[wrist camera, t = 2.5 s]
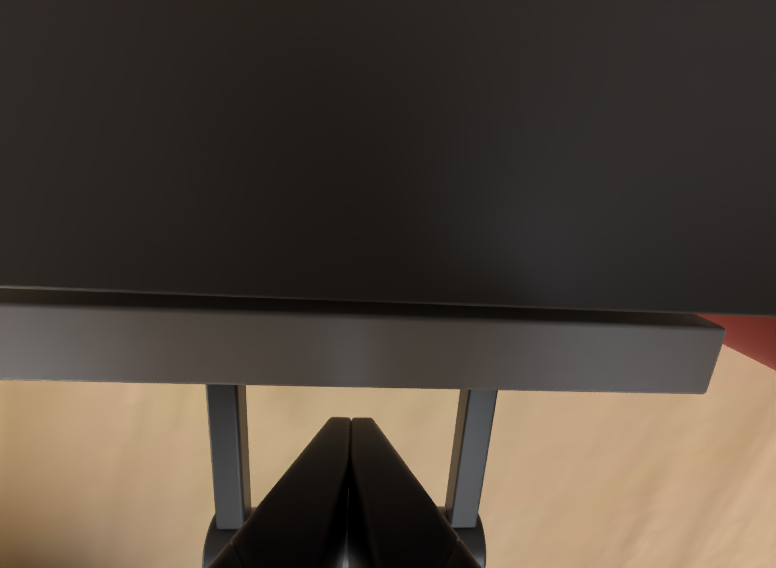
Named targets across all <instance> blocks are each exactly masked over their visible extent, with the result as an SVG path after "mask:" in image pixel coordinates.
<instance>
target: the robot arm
mask: <svg viewBox="0 0 776 568" xmlns="http://www.w3.org/2000/svg"><path fill="white" fill-rule="evenodd" d="M350 439H351V440H350ZM348 489H349V492H348ZM347 513H348V519H347ZM346 533H347V549H348V564H349V568H482V567H481V566H480V564H479V563H478V562H477V560H476V559H475V558H474V556H473V555H472V554H471V552H470V551H469V550H468V548H467V547H466V545H465V544H464V543H463V541H462V540H459V536H458V535H457V533H456V532H455V531H454V529H453V528H452V527H451V525H450V524H449V522H448V521H447V520H446V518H445V517H444V516H443V514H442V513H441V512H440V510H439V509H438V507H437V506H436V505H435V503H434V502H433V501H432V499H431V498H430V496H429V495H428V494H427V492H426V491H425V490H424V488H423V487H422V486H421V484H420V483H419V481H418V480H417V479H416V477H415V476H414V475H413V473H412V472H411V471H410V469H409V468H408V466H407V465H406V464H405V462H404V461H403V460H402V458H401V457H400V456H399V454H398V453H397V451H396V450H395V449H394V447H393V446H392V445H391V443H390V442H389V441H388V439H387V438H386V436H385V435H384V434H383V432H382V431H381V430H380V428H379V427H378V425H377V424H376V423H375V421H374V420H373V419H372V418H353V419H352V421H351V419H350V418H348V417H332V418H330V419H329V420H328V421H327V422H326V424H325V425H324V426H323V427H322V428H321V430H320V431H319V432H318V433H317V435H316V436H315V437H314V438H313V439H312V441H311V442H310V443H309V444H308V446H307V447H306V448H305V449H304V450H303V452H302V453H301V454H300V455H299V457H298V458H297V459H296V460H295V461H294V463H293V464H292V465H291V466H290V468H289V469H288V470H287V471H286V472H285V474H284V475H283V476H282V477H281V479H280V480H279V481H278V482H277V483H276V485H275V486H274V487H273V488H272V490H271V491H270V492H269V493H268V495H267V496H266V497H265V498H264V499H263V501H262V502H261V503H260V504H259V506H258V507H257V508H256V509H255V510H254V512H253V513H252V514H251V515H250V517H249V518H248V519H247V520H246V521H245V523H244V524H243V525H242V526H241V528H240V529H239V530H238V531H237V532H236V534H235V535H234V536H233V537H232V539H231V540H230V543H227V544H226V545H225V547H224V548H223V549H222V550H221V552H220V553H219V554H218V555H217V557H216V558H215V559H214V560H213V561H212V563H211V564H210V565H209V566H208V567H207V568H342V566H343V560H344V553H345V545H346Z"/></svg>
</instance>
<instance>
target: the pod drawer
mask: <svg viewBox="0 0 776 568" xmlns="http://www.w3.org/2000/svg"><path fill="white" fill-rule="evenodd" d="M725 334H726V329H725V328H724V327H722V326H720V325H718V324H716V323H714V322H711V321H709V320H707V319H705V318H703V317H700V316H698V315H696V314H679V313H652V312H625V311H598V310H572V309H545V308H518V307H492V306H465V305H438V304H411V303H385V302H358V301H331V300H304V299H278V298H251V297H224V296H198V295H171V294H144V293H117V292H91V291H64V290H37V289H10V288H0V380H24V381H74V382H124V383H173V384H205V385H206V398H207V411H208V424H209V436H210V449H211V462H212V474H213V487H214V500H215V515H214V516H213V519H212V521H211V523H210V526H209V529H208V532H207V536H206V540H205V545H204V550H203V558H202V568H207V567H208V566H209V565H210V564H211V563H212V561H213V560H214V559H215V558H216V557H217V555H218V554H219V553H220V552H221V550H222V549H223V548H224V547H225V545H226V544H227V543H230V540H231V539H232V537H233V536H234V535H235V534H236V532H237V531H238V530H239V529H240V528H241V526H242V525H243V524H244V523H245V521H246V520H247V519H248V518H249V517H250V515H251V514H252V513H253V512H254V510H255V509H256V508H257V507H251V492H250V471H249V449H248V427H247V405H246V385H273V386H323V387H372V388H422V389H460V396H459V404H458V411H457V419H456V427H455V434H454V442H453V449H452V457H451V465H450V472H449V480H448V488H447V495H446V503H445V507H438V509H439V510H440V512H441V513H442V514H443V516H444V517H445V518H446V520H447V521H448V522H449V524H450V525H451V527H452V528H453V529H454V531H455V532H456V533H457V535H458V536H459V540H462V541H463V543H464V544H465V545H466V547H467V548H468V550H469V551H470V552H471V554H472V555H473V556H474V558H475V559H476V560H477V562H478V563H479V564H480V566H481V567H482V568H485V566H486V543H485V535H484V530H483V526H482V522H481V519H480V516H479V514H478V510H479V504H480V498H481V491H482V485H483V479H484V473H485V467H486V460H487V454H488V448H489V442H490V436H491V430H492V423H493V417H494V411H495V405H496V399H497V392H498V390H522V391H571V392H621V393H671V394H704V393H705V392H706V391H707V388H708V385H709V382H710V379H711V376H712V373H713V370H714V367H715V364H716V361H717V358H718V355H719V352H720V349H721V346H722V343H723V340H724V337H725ZM347 519H348V513H347ZM342 568H349V564H348V549H347V533H346V545H345V553H344V560H343V566H342Z"/></svg>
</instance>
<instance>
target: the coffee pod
mask: <svg viewBox="0 0 776 568" xmlns="http://www.w3.org/2000/svg"><path fill="white" fill-rule="evenodd" d="M696 315H698V316H700V317H703V318H705V319H707V320H709V321H711V322H714V323H716V324H718V325H720V326H722V327H724V328H725V329H726V334H725V337H724V340H723V343H722V344H724V345H726V346H728V347H730V348H732V349H734V350H736V351H738V352H740V353H742V354H744V355H746V356H748V357H750V358H752V359H754V360H756V361H758V362H760V363H762V364H764V365H766V366H768V367H770V368H772V369H774V370H776V317H759V316H732V315H705V314H696Z"/></svg>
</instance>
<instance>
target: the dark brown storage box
mask: <svg viewBox="0 0 776 568" xmlns="http://www.w3.org/2000/svg"><path fill="white" fill-rule="evenodd" d="M0 288H10V289H37V290H64V291H91V292H117V293H144V294H171V295H198V296H224V297H251V298H278V299H304V300H331V301H358V302H385V303H411V304H438V305H465V306H492V307H518V308H545V309H572V310H598V311H625V312H652V313H679V314H705V315H732V316H759V317H776V0H0Z"/></svg>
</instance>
